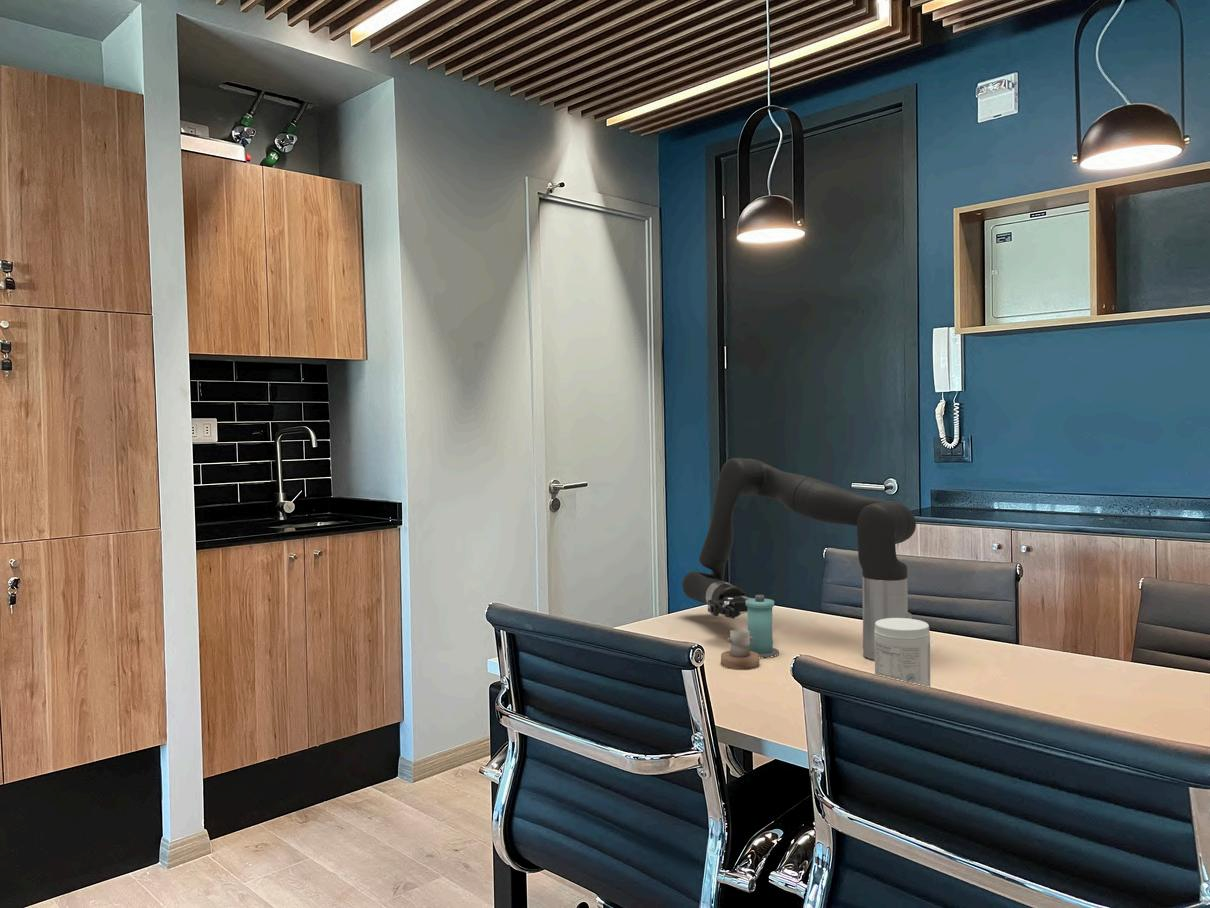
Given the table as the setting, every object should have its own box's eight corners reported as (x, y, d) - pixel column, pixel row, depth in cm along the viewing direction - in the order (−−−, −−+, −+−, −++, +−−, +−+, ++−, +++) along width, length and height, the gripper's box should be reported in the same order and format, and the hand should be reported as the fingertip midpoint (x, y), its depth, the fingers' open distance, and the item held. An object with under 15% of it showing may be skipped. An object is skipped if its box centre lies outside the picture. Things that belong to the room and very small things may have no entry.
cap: (767, 646, 203) (767, 592, 203) (779, 653, 197) (778, 597, 197) (741, 648, 202) (741, 593, 201) (752, 655, 196) (751, 599, 195)
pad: (770, 647, 204) (770, 645, 204) (785, 656, 196) (784, 653, 196) (736, 650, 202) (736, 647, 202) (750, 659, 195) (750, 656, 194)
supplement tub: (894, 692, 169) (894, 614, 169) (941, 704, 162) (941, 623, 162) (863, 703, 163) (863, 622, 163) (911, 716, 156) (910, 631, 155)
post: (750, 658, 196) (750, 625, 195) (765, 667, 188) (765, 634, 188) (715, 660, 194) (715, 628, 194) (729, 670, 186) (728, 637, 186)
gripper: (697, 585, 217) (721, 598, 202) (753, 581, 221) (780, 594, 205) (697, 616, 218) (721, 631, 202) (753, 612, 221) (780, 627, 205)
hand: (751, 612), depth 203 cm, fingers open, 8 cm apart
